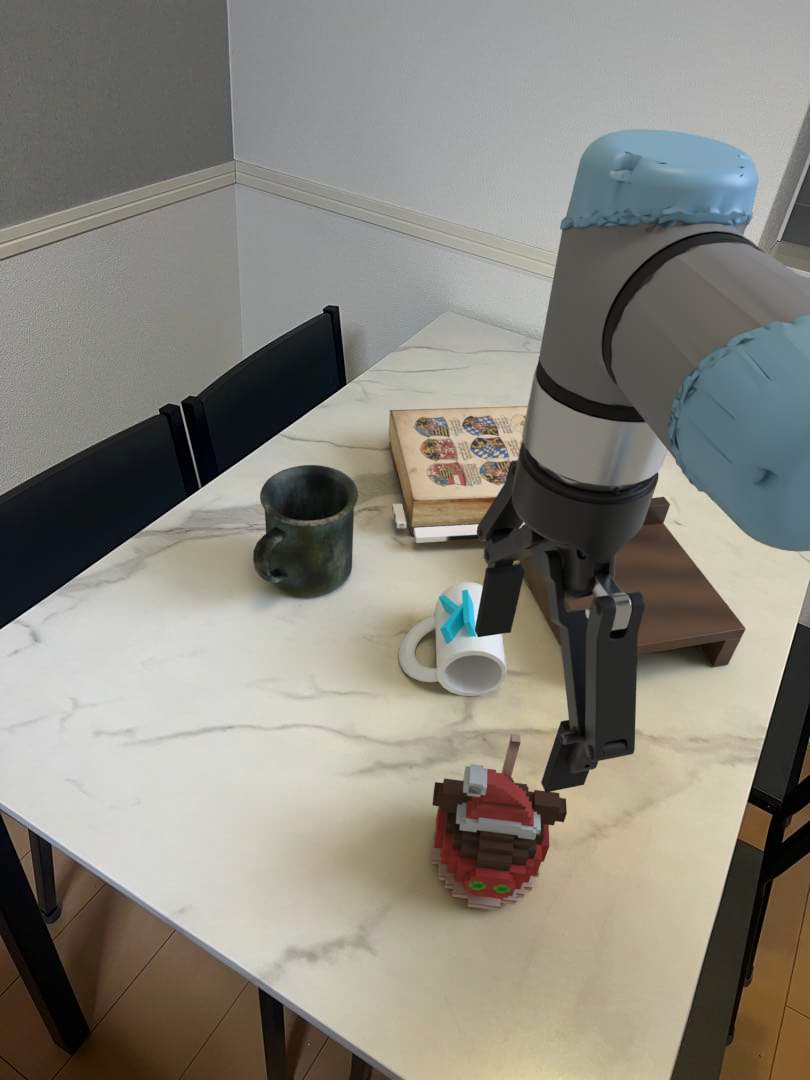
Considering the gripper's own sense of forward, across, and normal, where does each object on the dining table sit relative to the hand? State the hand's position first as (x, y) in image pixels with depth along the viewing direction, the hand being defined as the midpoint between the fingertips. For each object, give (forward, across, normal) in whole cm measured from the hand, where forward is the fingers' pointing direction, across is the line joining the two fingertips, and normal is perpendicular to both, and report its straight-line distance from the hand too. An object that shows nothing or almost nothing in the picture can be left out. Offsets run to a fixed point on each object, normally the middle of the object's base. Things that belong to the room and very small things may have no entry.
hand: (524, 701), depth 57 cm
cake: (+22, 0, 0) cm, 22 cm away
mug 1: (+22, +39, +10) cm, 46 cm away
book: (+23, +52, -18) cm, 59 cm away
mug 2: (+22, +24, -4) cm, 33 cm away
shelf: (+22, +26, -26) cm, 43 cm away
